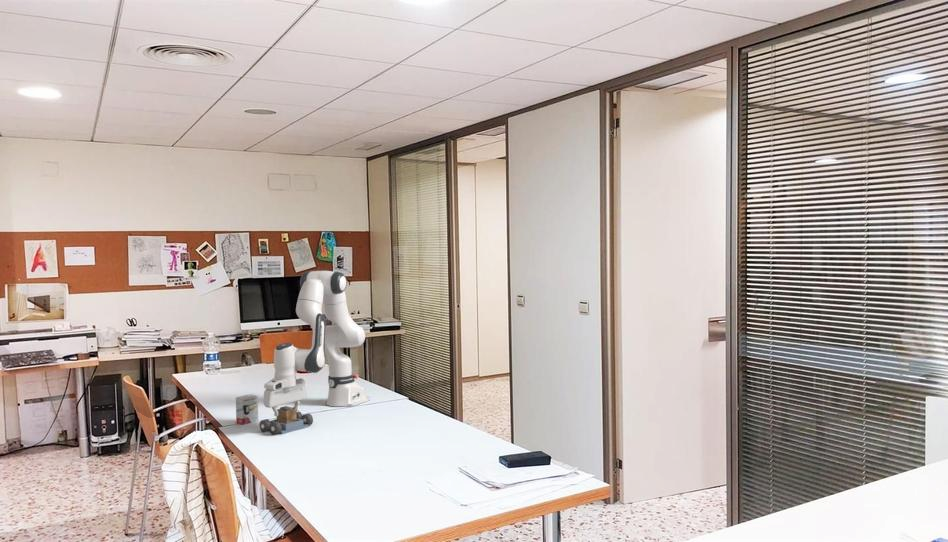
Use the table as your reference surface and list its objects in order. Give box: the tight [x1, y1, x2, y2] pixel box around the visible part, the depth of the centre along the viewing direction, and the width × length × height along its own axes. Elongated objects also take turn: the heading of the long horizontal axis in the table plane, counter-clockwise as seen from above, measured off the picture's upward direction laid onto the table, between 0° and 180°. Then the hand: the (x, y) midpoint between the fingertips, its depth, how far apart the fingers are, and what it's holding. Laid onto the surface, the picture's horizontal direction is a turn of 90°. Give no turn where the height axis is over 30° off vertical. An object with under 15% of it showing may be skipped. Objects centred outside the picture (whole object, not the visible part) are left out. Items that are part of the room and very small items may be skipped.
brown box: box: [276, 405, 297, 424], centre depth 291 cm, size 5×7×8 cm
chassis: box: [259, 410, 314, 436], centre depth 291 cm, size 19×12×5 cm, turn 143°
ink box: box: [235, 393, 259, 426], centre depth 303 cm, size 9×5×12 cm, turn 143°
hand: (286, 413), depth 291 cm, fingers open, 8 cm apart
